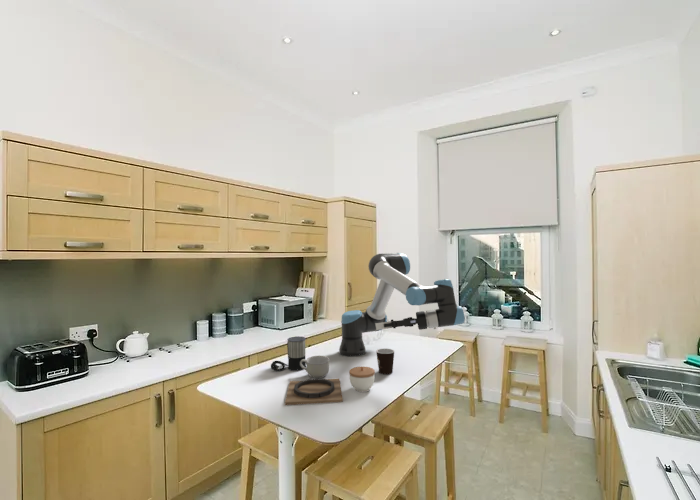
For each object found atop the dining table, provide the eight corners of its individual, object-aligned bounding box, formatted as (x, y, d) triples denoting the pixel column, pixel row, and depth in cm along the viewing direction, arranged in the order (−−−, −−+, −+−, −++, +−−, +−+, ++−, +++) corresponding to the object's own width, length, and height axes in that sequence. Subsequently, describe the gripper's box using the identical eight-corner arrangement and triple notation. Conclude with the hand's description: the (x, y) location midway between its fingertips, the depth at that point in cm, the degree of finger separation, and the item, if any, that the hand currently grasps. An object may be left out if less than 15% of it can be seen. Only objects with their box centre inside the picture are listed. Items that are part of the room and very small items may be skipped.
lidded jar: (356, 396, 137) (355, 372, 137) (345, 386, 147) (345, 365, 147) (379, 391, 141) (379, 368, 141) (368, 382, 151) (367, 361, 151)
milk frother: (310, 367, 173) (309, 337, 173) (285, 376, 161) (285, 344, 161) (291, 362, 182) (290, 334, 182) (267, 370, 170) (266, 340, 170)
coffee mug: (394, 375, 159) (393, 354, 159) (375, 374, 160) (375, 353, 160) (395, 367, 170) (395, 347, 170) (378, 366, 172) (378, 346, 172)
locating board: (289, 383, 152) (289, 377, 152) (339, 380, 154) (339, 375, 154) (285, 405, 130) (284, 398, 130) (342, 401, 132) (342, 395, 132)
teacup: (333, 373, 164) (332, 356, 164) (324, 381, 154) (323, 363, 154) (306, 370, 168) (306, 354, 169) (296, 378, 158) (295, 361, 158)
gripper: (430, 329, 133) (376, 336, 136) (426, 328, 158) (380, 334, 160) (426, 310, 135) (373, 317, 138) (423, 311, 159) (378, 317, 162)
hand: (377, 326), depth 149 cm, fingers open, 13 cm apart
